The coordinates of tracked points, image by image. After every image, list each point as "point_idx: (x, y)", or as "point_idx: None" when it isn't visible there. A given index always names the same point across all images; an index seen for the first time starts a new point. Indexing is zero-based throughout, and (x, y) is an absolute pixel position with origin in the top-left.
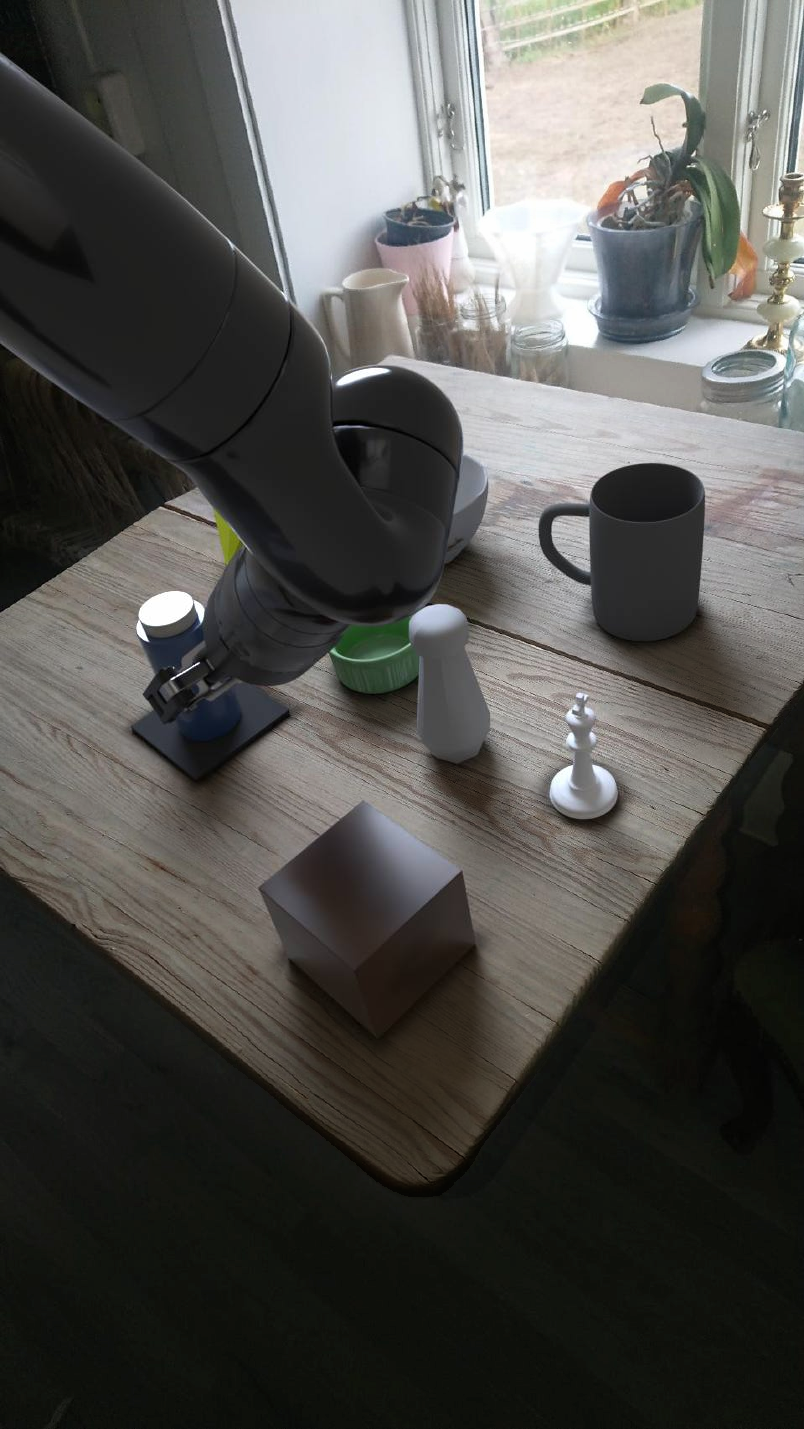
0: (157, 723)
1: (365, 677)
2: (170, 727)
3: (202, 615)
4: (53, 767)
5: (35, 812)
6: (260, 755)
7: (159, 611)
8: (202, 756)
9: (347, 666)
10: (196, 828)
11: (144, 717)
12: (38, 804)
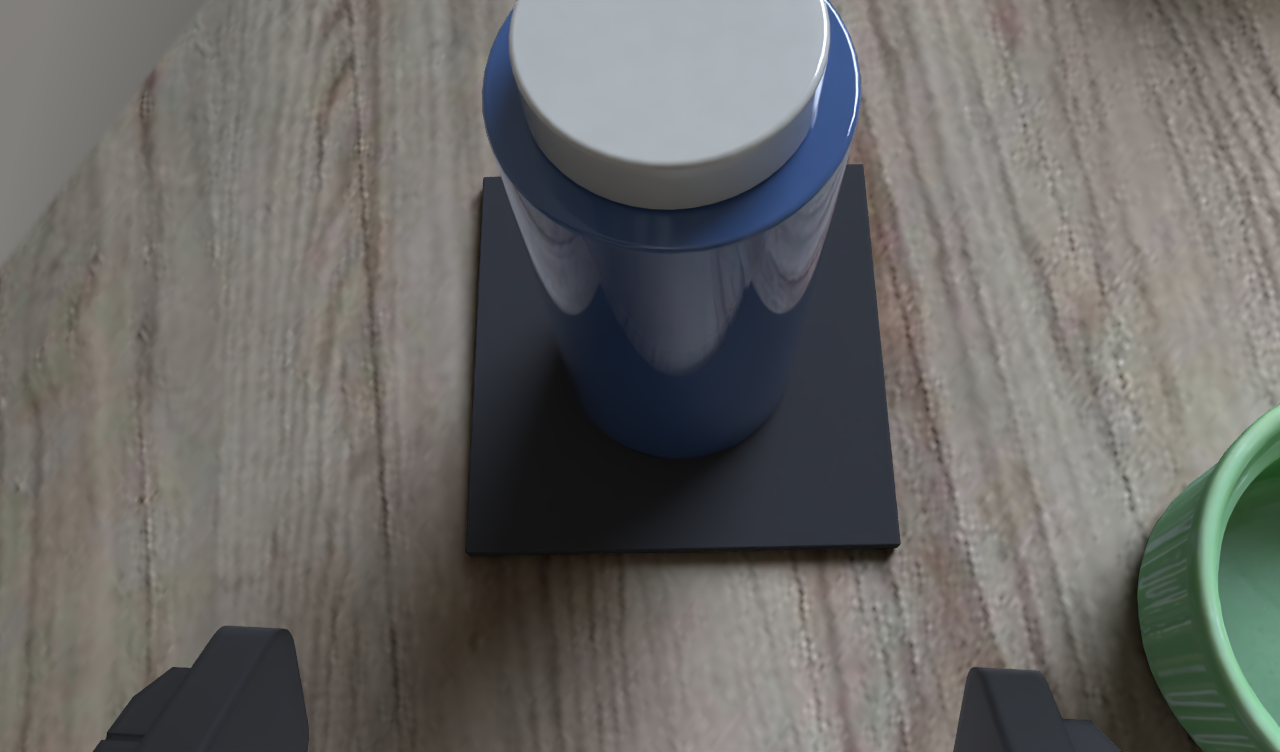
0: None
1: (1228, 739)
2: None
3: (808, 179)
4: (240, 137)
5: (92, 251)
6: (693, 633)
7: (628, 24)
8: (546, 483)
9: (1207, 670)
10: (332, 735)
11: None
12: (117, 231)
